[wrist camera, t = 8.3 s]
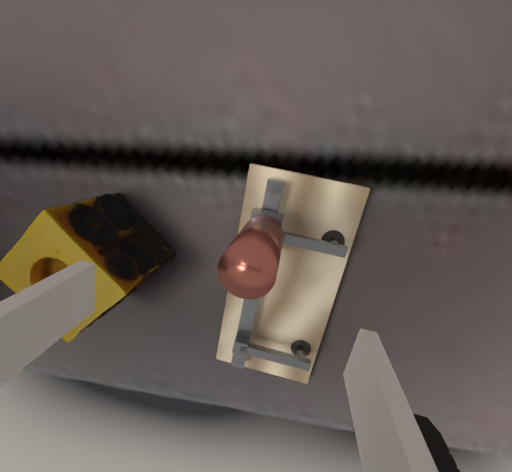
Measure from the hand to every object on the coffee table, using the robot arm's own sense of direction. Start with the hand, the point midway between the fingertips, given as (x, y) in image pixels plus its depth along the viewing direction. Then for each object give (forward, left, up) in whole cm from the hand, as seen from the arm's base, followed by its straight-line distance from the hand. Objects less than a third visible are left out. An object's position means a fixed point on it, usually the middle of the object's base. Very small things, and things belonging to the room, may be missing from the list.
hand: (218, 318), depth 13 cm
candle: (-17, -7, -18) cm, 26 cm away
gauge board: (+3, -6, -18) cm, 20 cm away
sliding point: (+3, 0, -17) cm, 17 cm away
